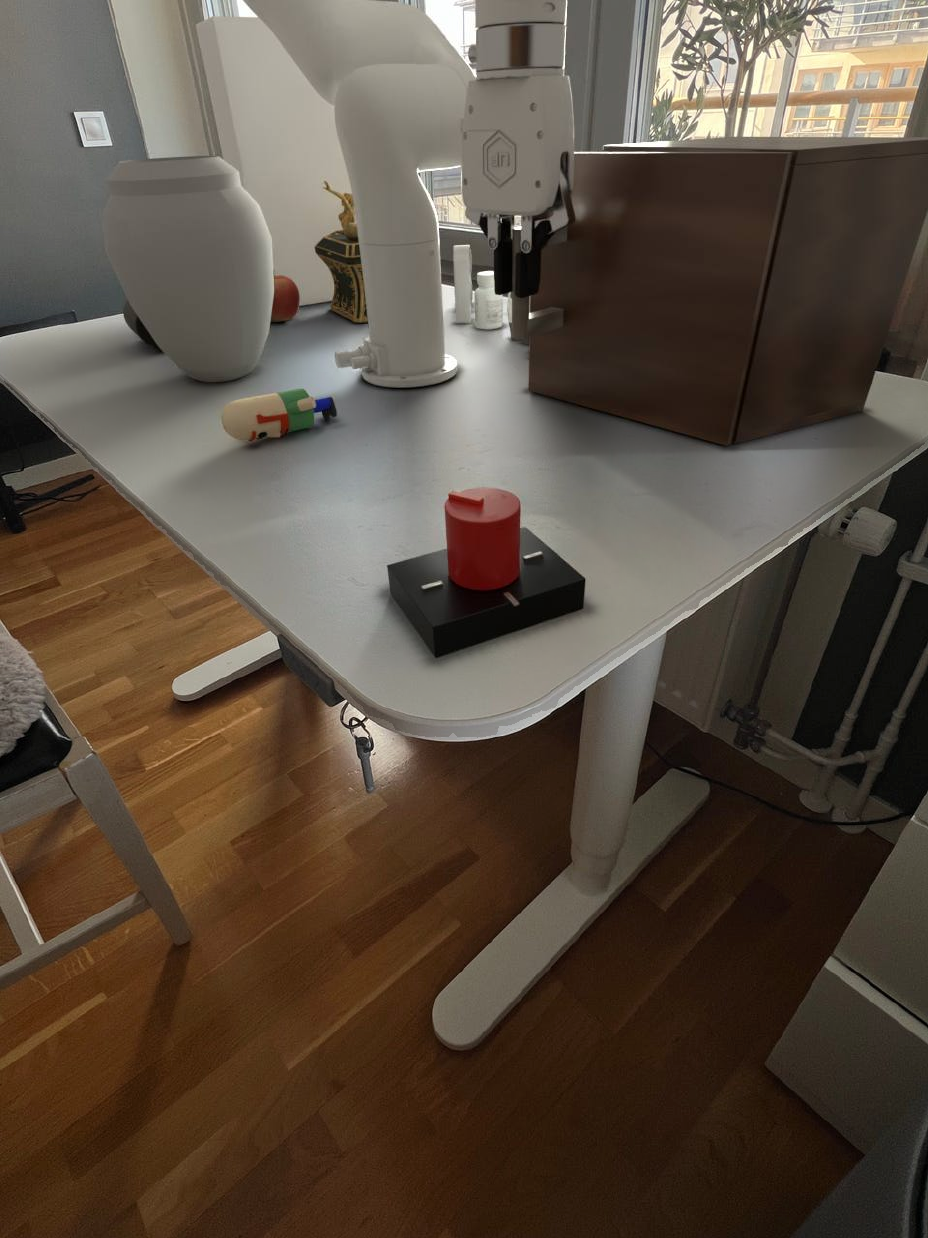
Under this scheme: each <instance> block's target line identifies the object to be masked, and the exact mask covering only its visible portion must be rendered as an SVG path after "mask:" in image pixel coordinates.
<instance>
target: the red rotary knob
mask: <svg viewBox="0 0 928 1238" xmlns="http://www.w3.org/2000/svg"><path fill="white" fill-rule="evenodd" d="M447 496H448V498H447V499H446V501H445V502H444V505H443V506H444V524H445V540H446V549H447V558H448V573H449V576H450V578H451V579H452V581H453V582H455V583H456V584H458V585H459V586H461V587H464V588H467V589H471V590H480V591H485V590H494V589H499V588H502V587H505V586H507V585H509V584H511V583H512V582H513V581H514V580H515V579H516V578H517V577H518V575H519V572H520V528H521V513H522V512H521V509H522V507H521V505H522V504H521V501H520V499H519V497H518V496H517V495H515V494H514V493H512V492H511V491H508V490H505V489H501V488H497V487H488V486H487V487H485V486H484V487H483V486H482V487H472V488H471V487H470V488H466V489H463V490H461V491H457V490H451V491H450V492H449V493H448V495H447Z"/></svg>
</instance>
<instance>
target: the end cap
mask: <svg viewBox="0 0 928 1238" xmlns="http://www.w3.org/2000/svg"><path fill="white" fill-rule="evenodd" d="M122 312H123V313H122V315H123V319H124V321H125V323H126V325H127V326H128V328H129V329H130V330H132V332H133V333H134V334H135V335H136V336H137V337H138V338H139V339H140V340H141V341H142V342H143V343H145V344H146V345H147V346H149V347H151V348H152V349H154V350H156V351H158V352H162V353H164V352H163V351H162V350H161V349H160V348H159V346H158V345H157V344H156V342H155V341H154V339H153V338H152V336H151V335H150V333H149V332H148V330H147V329H146V327H145V326H144V324H143V323H142V322H141V320H140V319H139V317H138V316H137V314H136V313H135V311H134V310H133V308H132V307H131V305H130V303H129V301H128V299H127V300H126V301H125V303H124V306H123V309H122Z"/></svg>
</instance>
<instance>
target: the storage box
mask: <svg viewBox="0 0 928 1238" xmlns="http://www.w3.org/2000/svg"><path fill="white" fill-rule="evenodd" d="M195 29H196V35H197V38H198V45H199V49H200V53H201V59H202V62H203V68H204V73H205V78H206V82H207V88H208V92H209V97H210V102H211V107H212V112H213V116H214V122H215V127H216V131H217V135H218V140H219V144H220V150H221V155H222V159H223V160H224V161H225V162H227V163H228V164H230V165H231V166H232V167H234V168H235V169H237V170H238V171H239V176H240V183H241V186H242V187H243V188H244V189H245V190H246V191H247V192H248V193H249V194H250V196H251V197H252V198H253V199H254V200H255V201H256V202H257V203H258V204H259V206H260V208H261V211H262V214H263V216H264V219H265V222H266V224H267V227H268V230H269V232H270V235H271V238H272V255H273V269H274V276H279V275H282V276H285V277H288V278H290V279H291V280H292V281H293V282H294V283H295V284H296V286H297V288H298V290H299V294H300V303H299V307H302V306H307V305H314V304H320V303H327V302H332V299H333V295H334V281H333V277H332V274H331V272H330V270H329V268H328V267H327V265H326V264H325V263H324V262H323V261H322V260H321V258H320V257H319V256H318V255H317V254H316V252H315V245H316V244H317V243H318V242H319V241H320V240H321V239H322V238H323V237H324V236H327V235H329V234H331V233H333V232H335V231H340V230H343V228H342V225H341V221H340V220H339V218H338V216H339V214H341V213H343V212H344V206H342V202H341V201H342V200H341V199H340V198H339V197H337V196H336V195H334V194H333V193H331V192H329V191H327V190H326V189H324V188H323V187H325V188H326V184H325V183H324V181H326V182H327V183H328V185H329V186H330V189H331V190H333V191H336V192H338V193H340V194H342V195H343V194H344V193H348V194H349V193H350V194H352V190H351V185H350V180H349V176H348V172H347V168H346V164H345V160H344V157H343V153H342V149H341V146H340V142H339V138H338V134H337V130H336V123H335V115H334V106H333V105H331V104H330V103H328V102H327V101H326V100H324V99H323V98H322V97H321V96H320V95H319V94H318V93H317V91H316V90H315V89H314V88H313V86H312V85H311V84H310V83H309V81H308V80H307V78H306V77H305V76H304V74H303V73H302V72H301V70H300V69H299V68H298V66H297V65H296V64H295V62H294V61H293V60H292V58H291V57H290V55H289V54H288V53H287V51H286V50H285V49H284V47H283V46H282V44H281V43H280V41H279V40H278V38H277V37H276V36H275V35H274V33H273V32H272V31H271V30H270V29H269V28H268V27H267V26H266V25H265V24H264V23H263V21H262V20H261V19H260V18H259V17H258V16H216V15H215V16H210V17H209V18H206V19H205V20H204V19H203V20H202V21H200V22H199V23H196V24H195ZM343 196H344V195H343ZM354 211H355V208H354ZM355 217H356V216H355ZM355 223H356V222H355ZM336 234H338V233H336ZM336 234H335V235H336Z"/></svg>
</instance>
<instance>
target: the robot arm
mask: <svg viewBox="0 0 928 1238" xmlns="http://www.w3.org/2000/svg"><path fill="white" fill-rule="evenodd" d="M242 1H243V3H245V5H246V6H247V7H248V9H250V10H251V12H253V13H254V15H255V16H256V17H259V18H260V19H261V20H262V21H263V23H264V24H265V25H266V26H267V27H268V28H269V29H270V30H271V31H272V32H273V33H274V35H275V36H276V37H277V38H278V40H279V41H280V43H281V44H282V46H283V47H284V49H285V50H286V51H287V53H288V54H289V55H290V57H291V58H292V60H293V61H294V62H295V64H296V65H297V66H298V68H299V69H300V70H301V72H302V73H303V74H304V76H305V77H306V78H307V80H308V81H309V83H310V84H311V85H312V86H313V88H314V89H315V90H316V91H317V93H318V94H319V95H320V96H321V97H322V98H323V99H324V100H326V101H327V102H328V103H330V104H331V105H333V106H334V115H335V123H336V130H337V134H338V138H339V142H340V146H341V149H342V153H343V157H344V160H345V164H346V168H347V172H348V176H349V180H350V185H351V190H352V196H353V202H354V208H355V216H356V223H357V232H358V240H359V246H360V255H361V264H362V272H363V281H364V290H365V298H366V307H367V316H368V322H367V323H368V332H369V337H364V338H363V339H362V341H363V345H358V346H357V349H352V350H349V349H347V350H341V351H335V352H334V362H335V364H336V366H337V367H336V368H338V369H341V368H348V367H351V369H352V370H358V369H361V375H362V378H363V380H365V381H366V382H367V383H370V384H371V385H375V386H379V387H385V388H396V389H397V388H399V389H401V388H402V389H403V388H405V389H409V388H418V387H426V386H433V385H436V384H440V383H442V382H445V381H448V380H449V379H452V378H453V377H454V376H456V375H457V373H458V368H459V367H458V364H459V363H458V360H457V359H455V358H454V357H453V356H451V355H449V354H446V345H445V344H446V343H445V325H444V323H445V321H444V307H443V306H444V305H443V304H444V303H443V285H442V268H441V248H440V247H441V246H440V245H441V244H440V232H439V220H438V219H439V218H438V215H437V214H438V213H437V211H436V208H435V205H434V202H433V200H432V198H431V195H430V193H429V192H428V190H427V189H426V187H425V185H424V183H423V181H422V179H421V177H420V175H419V173H422V172H427V171H428V172H429V171H437V170H449V169H454V168H460V188H461V190H460V191H461V201H462V204H463V206H464V207H465V211H464V215H465V217H466V219H467V220H468V221H470V222H471V223H473V224H475V226H477V227H479V229H480V230H481V231H482V233H483V234H484V236H485V238H486V239H487V246H488V248H489V249H490V250H491V251H493V271H494V291H495V294H496V295H503V296H504V295H506V294H508V293H509V292H512V229H513V228H515V216H519V217H520V227H521V250H522V251H521V252H518V253H516V261H515V295H516V297H517V298H525V297H528V296H531V295H534V294H537V293H538V291H539V284H540V278H541V249H544V248H546V246H547V243H548V241H549V240H550V238H551V237H552V236H553V235H554V234H555V232H556V231H558V230H561V229H563V228H565V227H567V226H569V225H571V224H573V223H574V222H575V213H574V209H573V204H572V200H571V198H572V192H573V181H574V152H575V120H574V119H575V117H574V106H573V95H572V86H571V80H570V75H565V58H566V57H565V55H566V34H567V33H566V32H567V26H566V25H567V9H568V8H567V7H568V0H474V16H475V17H474V28H475V31H474V40H475V41H474V42H475V43H474V44H473V43H472V44H470V45H469V47H468V51H467V57H468V60H469V62H470V64H475V71H474V70H473V68H472V67H471V66H470V65H469V64H468V62H467V61H466V60H465V58H464V57H463V56H462V54H460V52H459V51H458V50H457V49H456V47H455V46H454V45H453V44H452V42H451V41H450V40H449V38H447V36H446V35H445V33H443V32H442V30H441V29H440V28H439V26H438V25H437V24H436V23H435V22H434V20H433V19H432V18H431V17H430V16H428V14H427V13H426V12H424V11H423V10H421V9H420V8H418V7H416V6H414V5H411V4H409V3H405V2H399V1H390V0H242ZM549 211H554V213H553V215H552V216H551V217H549ZM548 217H549V218H548Z"/></svg>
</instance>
